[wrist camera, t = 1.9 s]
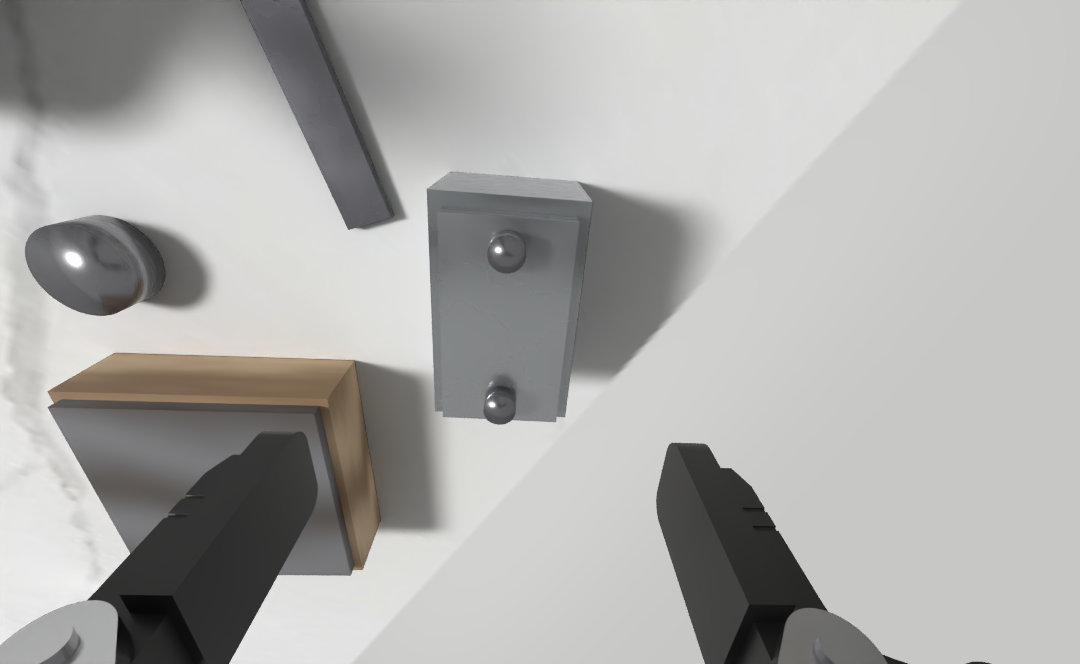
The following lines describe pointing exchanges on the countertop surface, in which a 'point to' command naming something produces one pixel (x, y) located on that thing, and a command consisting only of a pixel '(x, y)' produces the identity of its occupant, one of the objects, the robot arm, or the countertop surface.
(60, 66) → the countertop surface
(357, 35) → the countertop surface
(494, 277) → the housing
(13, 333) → the countertop surface
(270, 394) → the stand
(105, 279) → the dark grey domed cap
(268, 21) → the bar
